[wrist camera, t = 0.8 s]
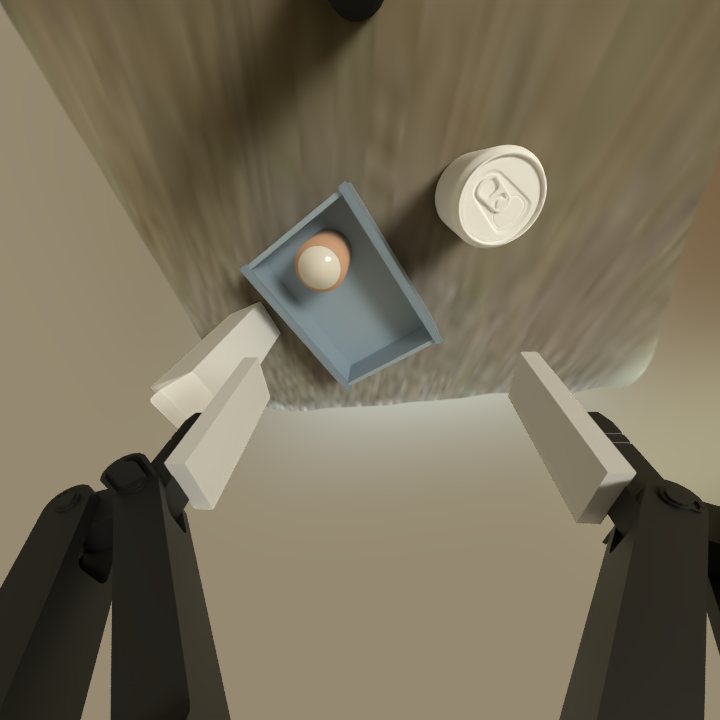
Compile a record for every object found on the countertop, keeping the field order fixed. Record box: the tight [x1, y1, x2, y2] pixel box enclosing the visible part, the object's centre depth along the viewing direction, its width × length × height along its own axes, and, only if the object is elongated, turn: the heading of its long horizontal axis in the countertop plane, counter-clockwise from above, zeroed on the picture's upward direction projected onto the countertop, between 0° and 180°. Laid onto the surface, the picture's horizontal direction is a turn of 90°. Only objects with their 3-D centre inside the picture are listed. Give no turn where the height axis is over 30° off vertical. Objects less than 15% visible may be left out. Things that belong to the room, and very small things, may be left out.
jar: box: [295, 229, 352, 292], centre depth 36 cm, size 6×6×8 cm
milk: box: [150, 301, 280, 429], centre depth 38 cm, size 6×6×22 cm
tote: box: [239, 181, 444, 391], centre depth 40 cm, size 22×16×6 cm
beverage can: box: [435, 145, 547, 248], centre depth 30 cm, size 8×8×12 cm
